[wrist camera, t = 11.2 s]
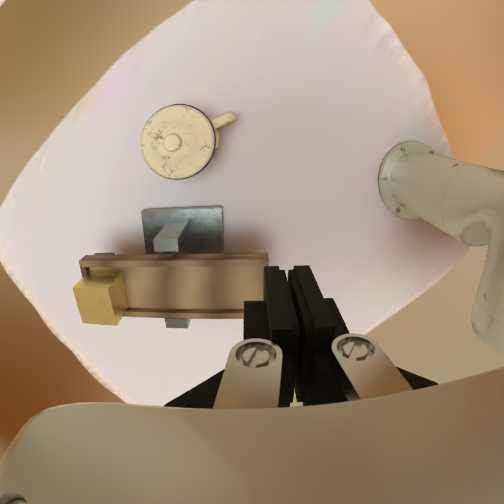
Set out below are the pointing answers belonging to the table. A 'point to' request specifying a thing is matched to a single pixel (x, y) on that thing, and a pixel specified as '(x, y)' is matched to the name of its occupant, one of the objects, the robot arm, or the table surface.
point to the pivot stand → (183, 235)
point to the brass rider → (102, 297)
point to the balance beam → (185, 282)
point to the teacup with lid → (181, 140)
